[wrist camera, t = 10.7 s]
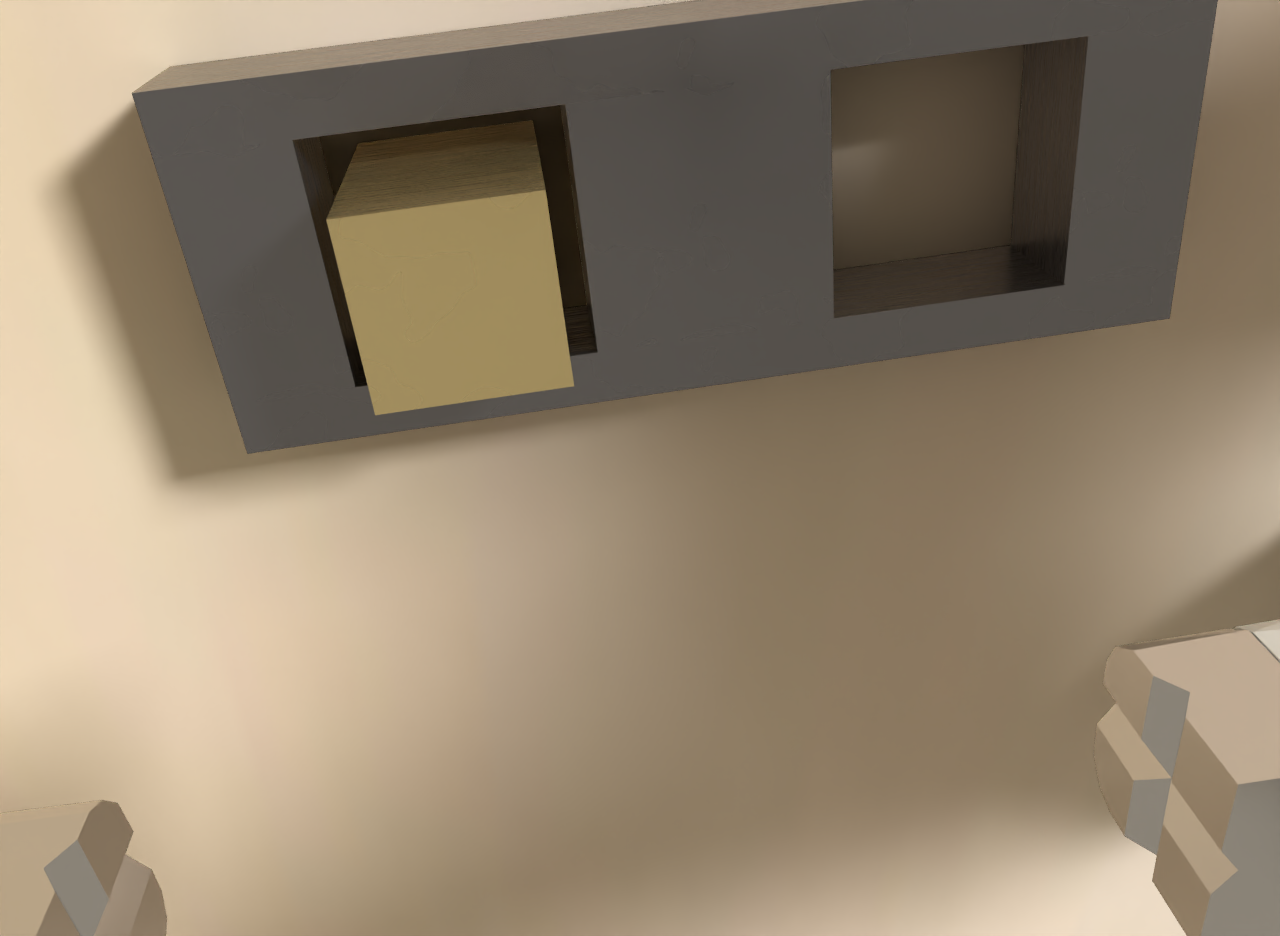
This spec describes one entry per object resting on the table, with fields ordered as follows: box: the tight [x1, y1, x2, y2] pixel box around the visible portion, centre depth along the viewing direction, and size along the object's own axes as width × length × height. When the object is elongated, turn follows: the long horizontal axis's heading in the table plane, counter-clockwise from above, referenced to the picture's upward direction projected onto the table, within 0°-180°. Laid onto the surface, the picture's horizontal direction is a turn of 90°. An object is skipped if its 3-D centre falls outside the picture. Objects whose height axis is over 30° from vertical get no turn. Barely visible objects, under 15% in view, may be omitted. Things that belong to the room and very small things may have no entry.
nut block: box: [326, 120, 574, 415], centre depth 24 cm, size 4×4×6 cm
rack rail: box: [132, 0, 1218, 454], centre depth 25 cm, size 22×8×3 cm, turn 96°
